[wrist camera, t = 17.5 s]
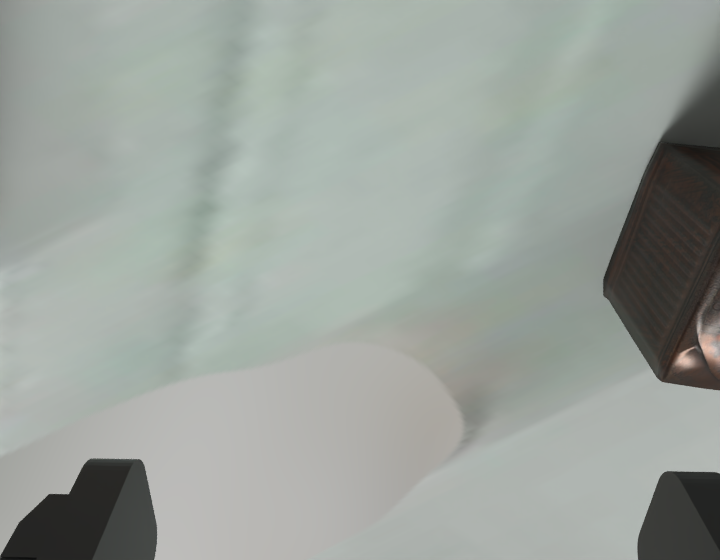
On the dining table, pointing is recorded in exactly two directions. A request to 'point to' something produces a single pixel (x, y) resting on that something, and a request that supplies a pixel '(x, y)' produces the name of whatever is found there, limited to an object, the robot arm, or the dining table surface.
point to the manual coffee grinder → (673, 266)
